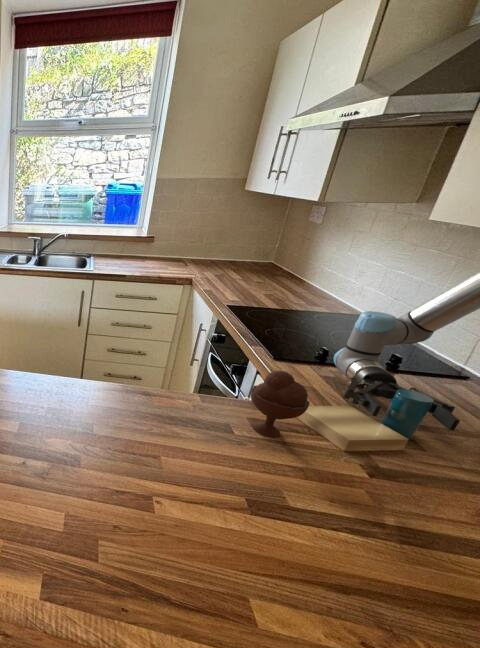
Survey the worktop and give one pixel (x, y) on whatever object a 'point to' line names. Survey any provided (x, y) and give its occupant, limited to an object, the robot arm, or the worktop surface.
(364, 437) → the platform
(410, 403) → the canister
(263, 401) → the ice cream bowl
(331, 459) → the worktop surface
